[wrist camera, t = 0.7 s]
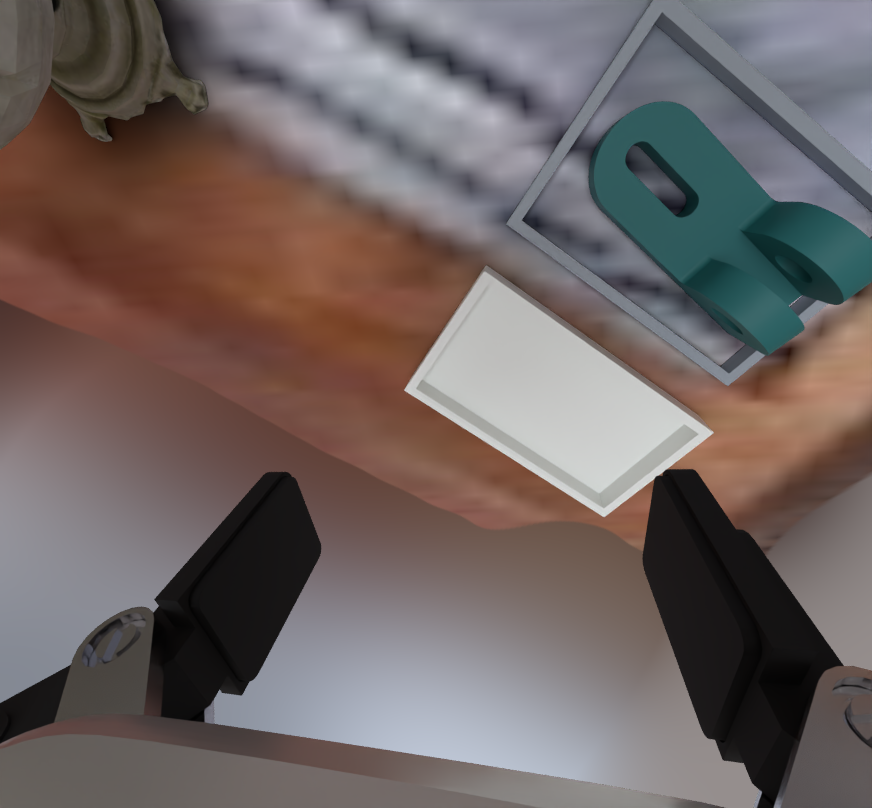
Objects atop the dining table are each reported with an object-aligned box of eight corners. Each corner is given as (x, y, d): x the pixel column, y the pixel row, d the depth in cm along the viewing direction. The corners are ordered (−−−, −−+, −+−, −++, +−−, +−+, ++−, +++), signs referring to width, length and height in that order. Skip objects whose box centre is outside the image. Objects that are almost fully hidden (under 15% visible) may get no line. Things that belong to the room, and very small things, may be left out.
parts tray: (485, 264, 32) (484, 270, 29) (698, 415, 35) (713, 432, 32) (411, 376, 38) (404, 390, 35) (597, 496, 41) (604, 517, 38)
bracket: (813, 264, 28) (911, 285, 21) (726, 332, 31) (787, 369, 25) (646, 83, 25) (697, 40, 18) (567, 178, 28) (587, 171, 21)
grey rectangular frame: (654, -3, 23) (662, -15, 22) (907, 220, 26) (928, 221, 25) (506, 223, 30) (506, 224, 29) (718, 378, 33) (727, 386, 32)
